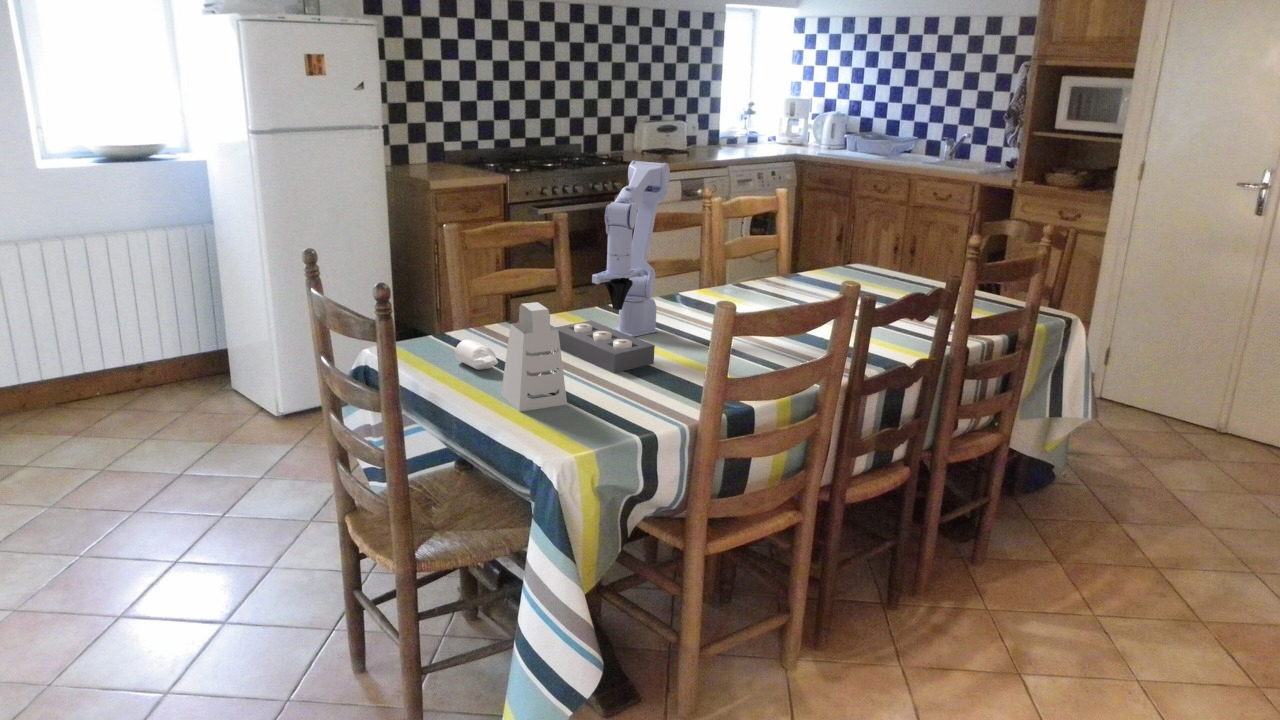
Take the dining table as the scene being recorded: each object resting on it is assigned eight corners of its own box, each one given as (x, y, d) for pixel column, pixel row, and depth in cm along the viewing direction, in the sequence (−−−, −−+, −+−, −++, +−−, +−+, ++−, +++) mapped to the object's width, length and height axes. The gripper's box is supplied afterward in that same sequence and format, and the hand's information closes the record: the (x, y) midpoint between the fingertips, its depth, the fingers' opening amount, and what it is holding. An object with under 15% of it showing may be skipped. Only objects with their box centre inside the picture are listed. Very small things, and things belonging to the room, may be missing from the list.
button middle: (603, 341, 227) (603, 330, 226) (615, 346, 224) (615, 334, 223) (589, 345, 224) (589, 333, 223) (600, 349, 221) (600, 337, 220)
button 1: (584, 334, 232) (584, 322, 231) (595, 338, 229) (595, 326, 228) (570, 337, 230) (570, 325, 229) (581, 341, 226) (581, 329, 225)
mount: (590, 337, 237) (591, 320, 236) (653, 363, 220) (654, 345, 219) (551, 345, 230) (552, 327, 228) (614, 373, 212) (614, 354, 211)
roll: (482, 379, 206) (482, 354, 204) (454, 364, 214) (454, 340, 212) (505, 373, 209) (505, 350, 208) (477, 359, 218) (477, 336, 216)
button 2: (623, 350, 222) (623, 338, 221) (635, 355, 219) (635, 342, 218) (608, 353, 219) (609, 341, 218) (620, 358, 216) (621, 346, 215)
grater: (547, 387, 202) (548, 297, 196) (567, 404, 193) (569, 310, 187) (501, 394, 197) (500, 302, 191) (519, 411, 189) (519, 315, 182)
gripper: (606, 260, 215) (604, 317, 219) (653, 253, 224) (650, 308, 228) (587, 254, 220) (585, 310, 224) (634, 247, 229) (632, 301, 233)
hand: (617, 308), depth 227 cm, fingers closed
